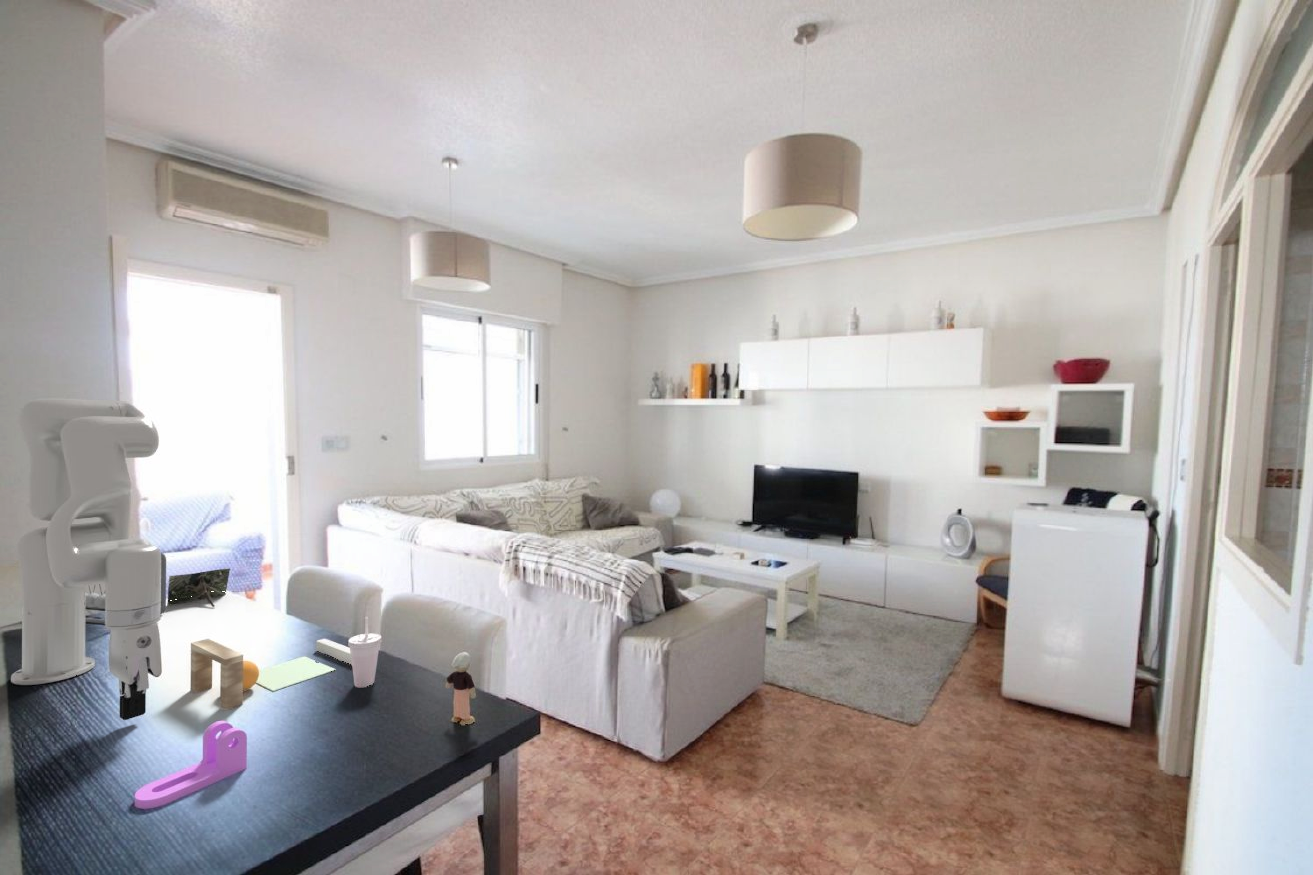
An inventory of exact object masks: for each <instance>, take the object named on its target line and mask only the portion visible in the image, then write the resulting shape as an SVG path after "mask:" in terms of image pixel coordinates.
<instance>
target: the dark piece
mask: <svg viewBox="0 0 1313 875" xmlns="http://www.w3.org/2000/svg"><path fill="white" fill-rule="evenodd" d="M230 571H231V568H220V569H212V570H207V571H200V572H196V573H195V572H194V573H187V574H176V575H175V574H174V575H169V579H168V587H167V602H166V606H172V605H176V604H182V603H187V602H193V601H199V600H204V599H206V600H207V602H208V603H209V604H210V605H211V607H212V608H215V607H216V606H215V604H214V602H213V600H212V598H214V597H220V596H224V595H227V589H228V581H229V577H230ZM211 591H214V592H211ZM222 591H225V592H226V593H225V592H222ZM191 596H192V597H191ZM175 599H177V600H175ZM170 600H172V601H170Z"/></svg>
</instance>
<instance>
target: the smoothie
mask: <svg viewBox="0 0 1313 875" xmlns="http://www.w3.org/2000/svg"><path fill="white" fill-rule="evenodd" d="M364 628H365V629H364V630H365V632H364V633H362V634H361V633H360V634H357V635H354V636H352V637H350V638H349V639H348V640H347V641H348V644H347V647H349V648H350V652H351V660H352V665H351V666H352V674H353V684H354V687H355V688H359V689H360V688H367V686H368V687H370V686H369V685H371V686H372V685H373V683H374V684H375V680H376V679H375V678H376V672H377V665H378V658H379V651H380V644H381V643H382V636H381V634H379V633H374V632H373V633H372V632H371V633H369V616H365V624H364Z"/></svg>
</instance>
